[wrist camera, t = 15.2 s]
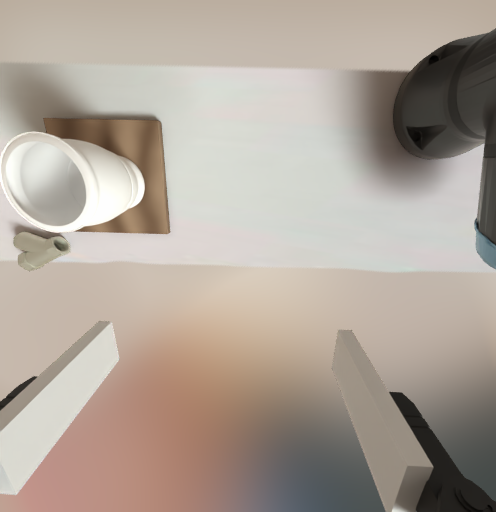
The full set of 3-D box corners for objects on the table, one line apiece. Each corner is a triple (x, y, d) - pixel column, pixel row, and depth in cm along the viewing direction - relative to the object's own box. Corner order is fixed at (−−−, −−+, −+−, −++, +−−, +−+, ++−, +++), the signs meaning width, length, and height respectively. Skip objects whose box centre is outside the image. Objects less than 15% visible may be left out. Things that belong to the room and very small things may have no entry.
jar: (82, 151, 38) (-20, 136, 24) (144, 145, 38) (77, 126, 24) (100, 217, 42) (19, 237, 27) (157, 212, 41) (105, 230, 27)
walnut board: (161, 122, 38) (157, 120, 37) (170, 232, 44) (167, 234, 42) (51, 120, 38) (43, 118, 37) (74, 229, 44) (68, 231, 43)
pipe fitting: (21, 236, 45) (43, 267, 47) (0, 240, 42) (23, 273, 43) (54, 218, 44) (74, 250, 46) (34, 220, 40) (57, 255, 42)
